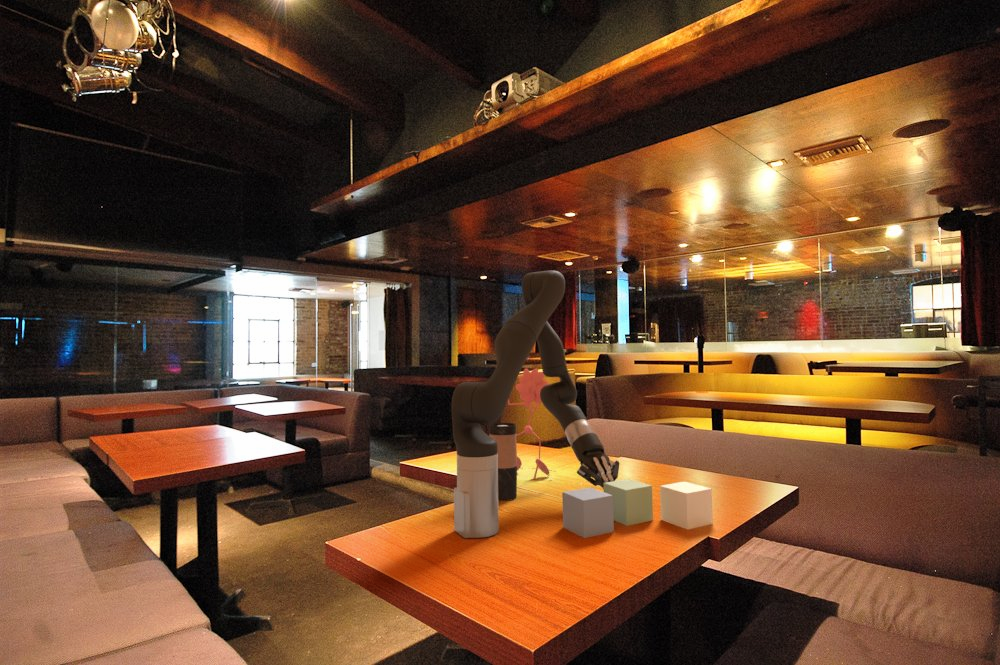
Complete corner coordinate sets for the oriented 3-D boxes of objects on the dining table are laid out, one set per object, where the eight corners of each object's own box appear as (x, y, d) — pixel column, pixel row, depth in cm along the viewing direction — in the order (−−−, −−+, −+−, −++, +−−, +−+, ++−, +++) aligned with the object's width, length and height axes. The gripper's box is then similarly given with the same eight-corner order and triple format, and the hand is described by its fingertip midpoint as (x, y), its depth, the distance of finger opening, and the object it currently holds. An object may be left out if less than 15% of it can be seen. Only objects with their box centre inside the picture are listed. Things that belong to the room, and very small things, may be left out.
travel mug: (521, 498, 140) (520, 425, 141) (495, 502, 137) (494, 427, 138) (511, 492, 147) (509, 422, 148) (486, 495, 145) (485, 423, 145)
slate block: (584, 538, 110) (583, 500, 110) (563, 527, 117) (562, 492, 117) (613, 532, 113) (612, 495, 114) (591, 522, 120) (590, 487, 121)
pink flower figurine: (555, 483, 156) (554, 368, 159) (489, 473, 172) (489, 368, 174) (580, 475, 168) (578, 368, 171) (516, 466, 184) (516, 368, 186)
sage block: (626, 525, 117) (625, 490, 117) (604, 516, 124) (603, 482, 125) (653, 520, 121) (652, 485, 121) (629, 511, 128) (628, 478, 128)
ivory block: (687, 529, 114) (686, 493, 114) (661, 520, 121) (660, 485, 121) (712, 524, 118) (711, 488, 118) (685, 514, 125) (684, 481, 125)
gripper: (569, 433, 133) (600, 492, 121) (609, 429, 139) (642, 485, 127) (557, 451, 137) (586, 509, 126) (597, 446, 143) (628, 502, 132)
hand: (614, 497), depth 127 cm, fingers closed
